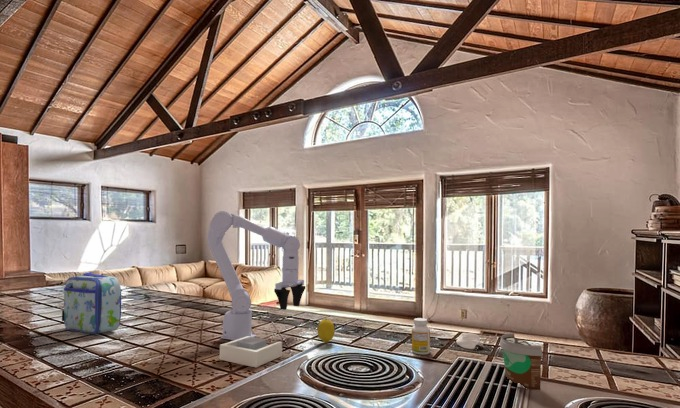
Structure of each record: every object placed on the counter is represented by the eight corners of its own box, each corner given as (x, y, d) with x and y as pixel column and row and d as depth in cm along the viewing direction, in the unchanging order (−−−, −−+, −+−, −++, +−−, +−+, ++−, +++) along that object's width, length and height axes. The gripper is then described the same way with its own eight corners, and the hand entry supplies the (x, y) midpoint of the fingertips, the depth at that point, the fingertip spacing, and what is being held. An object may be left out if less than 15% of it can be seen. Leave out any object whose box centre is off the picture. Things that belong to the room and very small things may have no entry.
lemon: (332, 346, 120) (332, 320, 121) (315, 345, 121) (315, 319, 122) (336, 341, 125) (336, 316, 126) (319, 340, 126) (320, 316, 127)
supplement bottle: (418, 348, 118) (418, 316, 118) (433, 352, 114) (433, 319, 115) (408, 352, 114) (408, 319, 115) (423, 356, 110) (423, 322, 111)
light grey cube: (236, 359, 107) (236, 341, 108) (251, 353, 113) (252, 336, 113) (252, 363, 104) (252, 344, 105) (267, 356, 110) (267, 338, 110)
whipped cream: (453, 349, 121) (451, 333, 121) (462, 342, 125) (460, 328, 126) (477, 352, 115) (474, 336, 115) (486, 345, 120) (484, 330, 120)
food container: (491, 373, 96) (490, 333, 97) (514, 372, 96) (512, 332, 97) (518, 393, 84) (516, 347, 85) (544, 392, 84) (542, 346, 85)
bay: (219, 359, 107) (219, 344, 107) (247, 349, 117) (247, 335, 117) (255, 367, 100) (256, 352, 101) (282, 356, 110) (282, 341, 110)
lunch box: (57, 329, 142) (60, 273, 144) (88, 323, 151) (91, 270, 153) (90, 339, 128) (94, 276, 130) (123, 332, 137) (126, 274, 139)
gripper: (287, 271, 128) (286, 312, 127) (310, 268, 140) (310, 305, 139) (270, 270, 131) (270, 310, 130) (295, 267, 144) (295, 303, 143)
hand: (290, 307), depth 135 cm, fingers open, 7 cm apart
